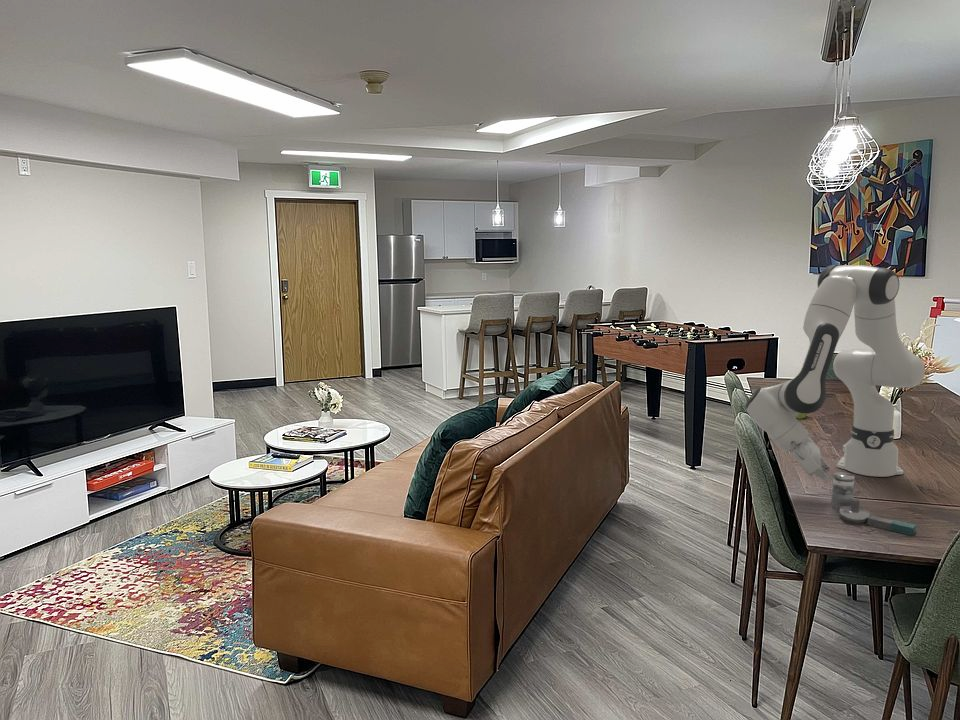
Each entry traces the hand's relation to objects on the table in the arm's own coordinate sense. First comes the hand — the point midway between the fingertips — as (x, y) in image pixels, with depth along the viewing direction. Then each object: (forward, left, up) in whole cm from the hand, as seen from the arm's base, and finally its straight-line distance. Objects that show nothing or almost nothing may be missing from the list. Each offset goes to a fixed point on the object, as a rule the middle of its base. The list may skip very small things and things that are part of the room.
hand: (828, 475), depth 199 cm
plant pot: (-110, -9, -9) cm, 111 cm away
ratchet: (+12, +11, -8) cm, 18 cm away
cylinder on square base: (0, +4, -8) cm, 9 cm away
